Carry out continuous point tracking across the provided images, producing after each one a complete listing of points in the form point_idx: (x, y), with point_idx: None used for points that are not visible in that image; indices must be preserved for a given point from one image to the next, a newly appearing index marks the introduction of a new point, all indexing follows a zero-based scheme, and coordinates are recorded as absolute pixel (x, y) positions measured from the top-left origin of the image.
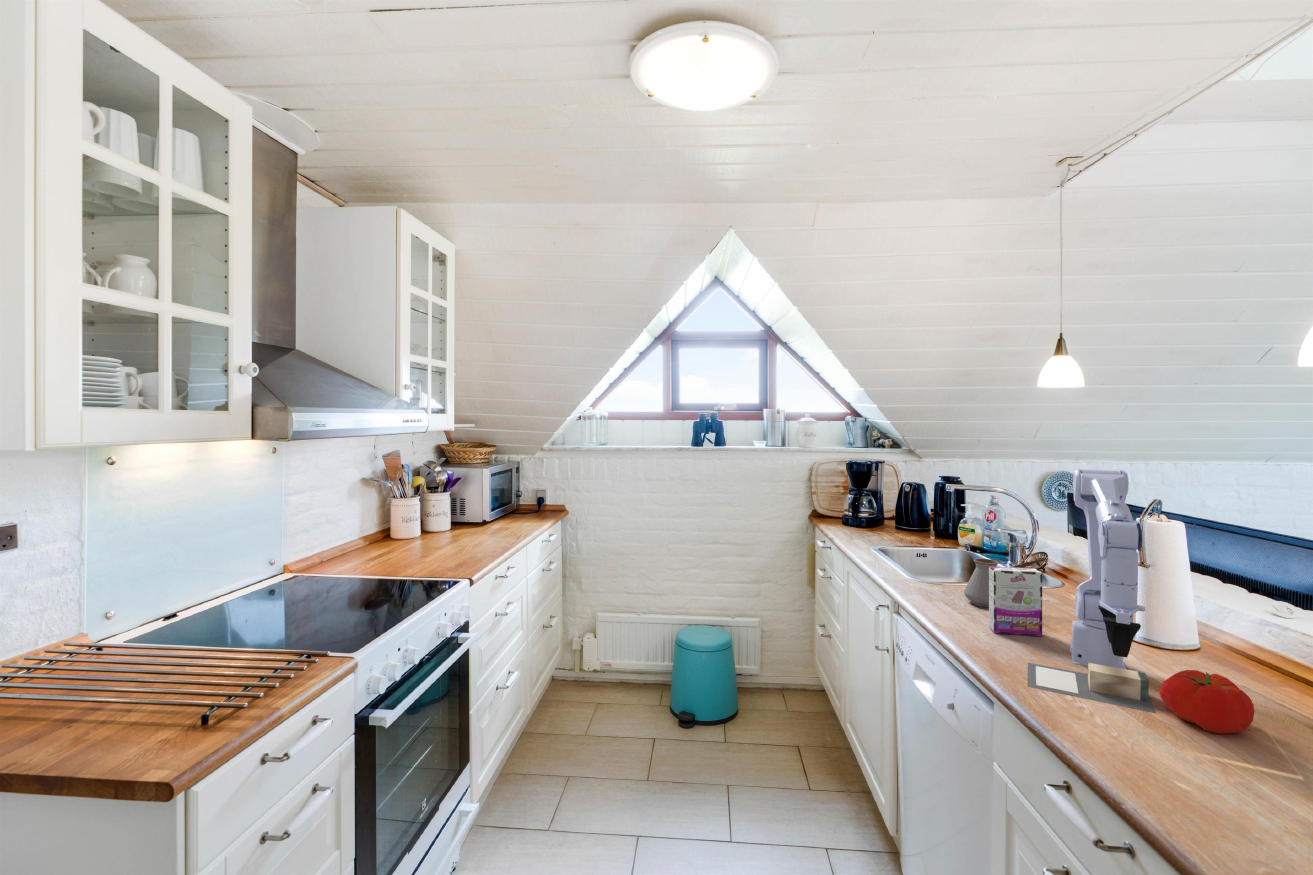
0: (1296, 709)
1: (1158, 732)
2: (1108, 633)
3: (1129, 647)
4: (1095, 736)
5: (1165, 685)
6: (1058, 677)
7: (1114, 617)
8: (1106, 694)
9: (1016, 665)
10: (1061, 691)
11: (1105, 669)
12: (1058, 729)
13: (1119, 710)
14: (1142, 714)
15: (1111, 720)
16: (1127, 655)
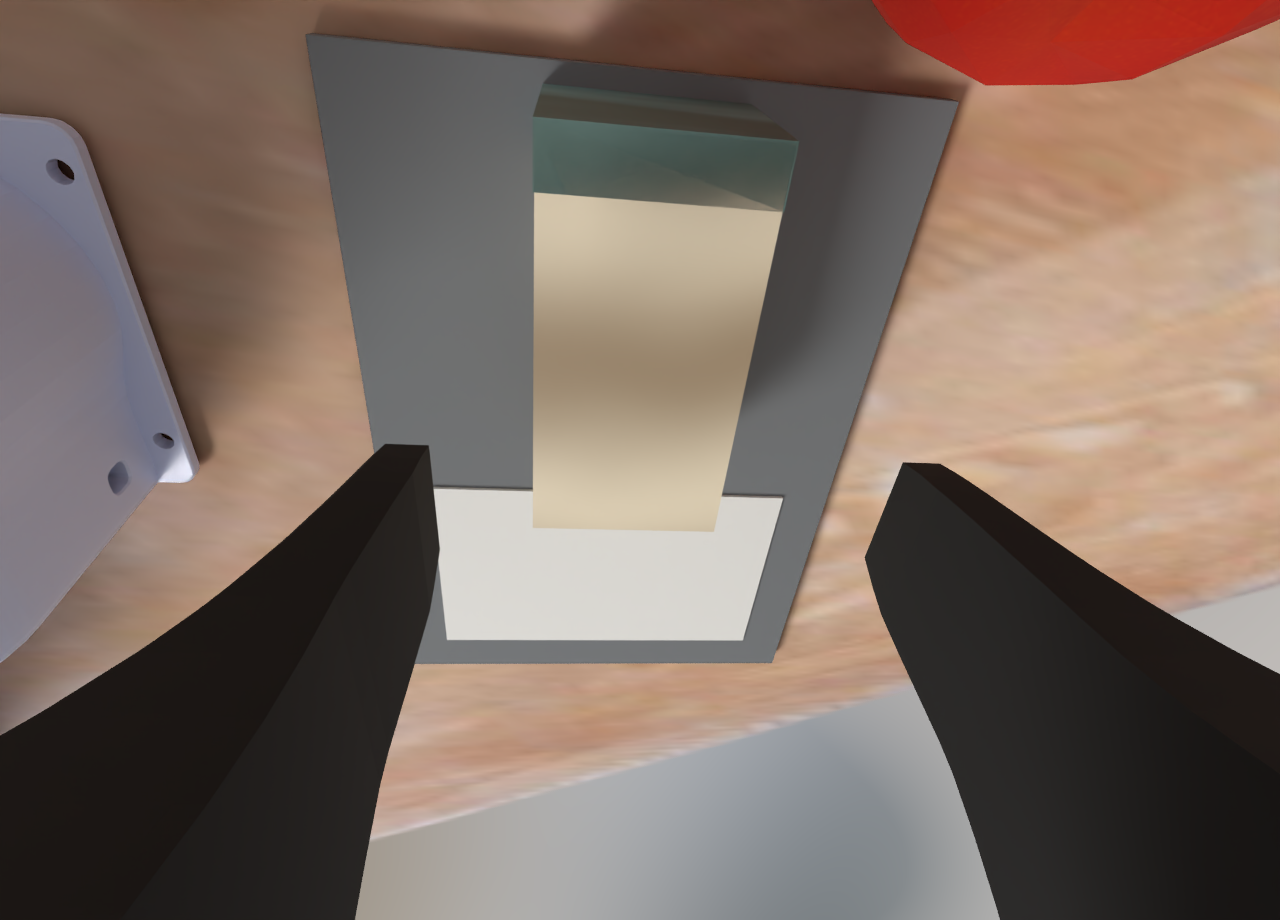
0: None
1: (1225, 159)
2: (416, 654)
3: (1051, 545)
4: (1257, 468)
5: (1145, 61)
6: (571, 562)
7: (302, 910)
8: None
9: (470, 687)
10: (780, 558)
11: (633, 441)
12: (1187, 576)
13: (926, 320)
14: (958, 193)
15: (1076, 382)
16: (962, 478)
